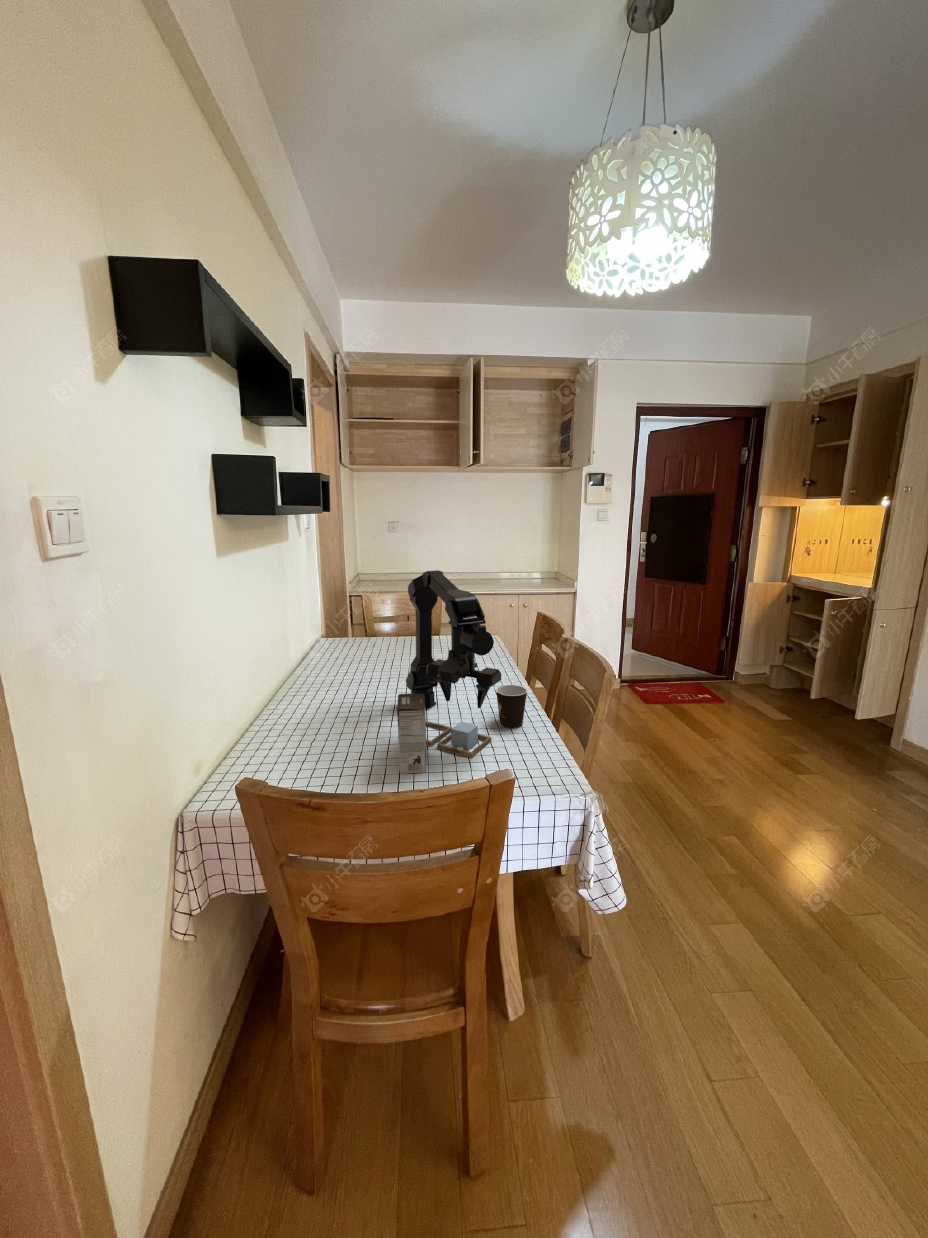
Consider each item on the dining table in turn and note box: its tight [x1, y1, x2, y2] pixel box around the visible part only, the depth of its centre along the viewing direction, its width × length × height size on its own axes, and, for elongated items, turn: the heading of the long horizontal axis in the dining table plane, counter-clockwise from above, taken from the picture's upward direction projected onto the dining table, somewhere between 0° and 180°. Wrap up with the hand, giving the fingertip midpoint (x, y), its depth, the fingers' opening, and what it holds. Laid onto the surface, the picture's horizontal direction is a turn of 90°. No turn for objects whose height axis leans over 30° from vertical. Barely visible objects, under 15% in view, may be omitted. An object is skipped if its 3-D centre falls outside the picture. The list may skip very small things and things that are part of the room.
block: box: [450, 721, 479, 752], centre depth 124 cm, size 5×5×5 cm
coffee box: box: [396, 693, 427, 774], centre depth 113 cm, size 9×6×16 cm
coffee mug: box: [495, 684, 528, 729], centre depth 137 cm, size 12×9×10 cm
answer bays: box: [426, 720, 492, 759], centre depth 127 cm, size 22×11×2 cm, turn 60°
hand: (463, 704), depth 122 cm, fingers open, 9 cm apart
